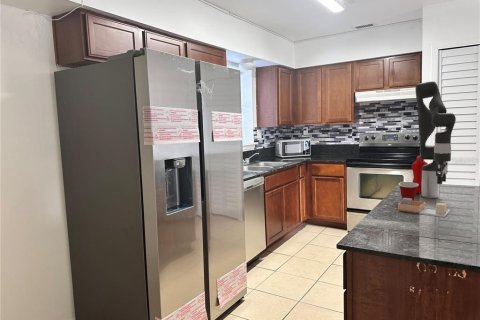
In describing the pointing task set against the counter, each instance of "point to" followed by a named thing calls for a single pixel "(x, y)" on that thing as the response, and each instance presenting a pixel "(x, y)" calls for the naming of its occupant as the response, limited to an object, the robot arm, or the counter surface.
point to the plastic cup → (408, 189)
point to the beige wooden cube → (441, 208)
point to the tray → (433, 212)
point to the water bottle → (418, 172)
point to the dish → (412, 207)
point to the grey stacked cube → (407, 201)
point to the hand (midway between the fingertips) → (441, 182)
